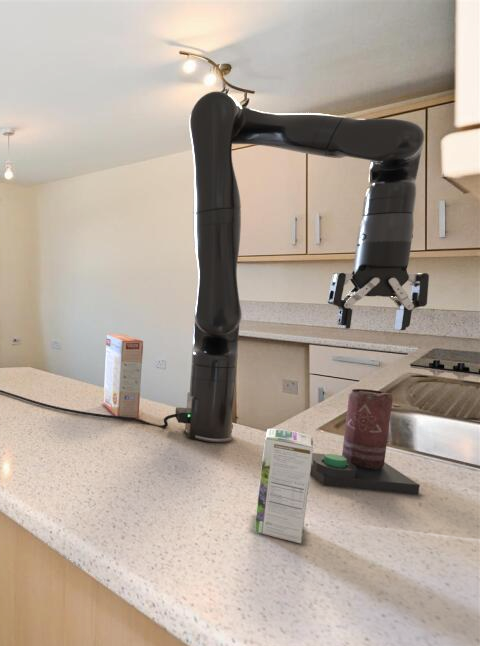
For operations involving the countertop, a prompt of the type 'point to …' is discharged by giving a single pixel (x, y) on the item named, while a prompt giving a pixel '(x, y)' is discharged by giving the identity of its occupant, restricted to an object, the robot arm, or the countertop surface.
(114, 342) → the cracker box
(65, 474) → the countertop surface
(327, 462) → the tare button
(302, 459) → the syrup box
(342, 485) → the scale
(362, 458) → the can
